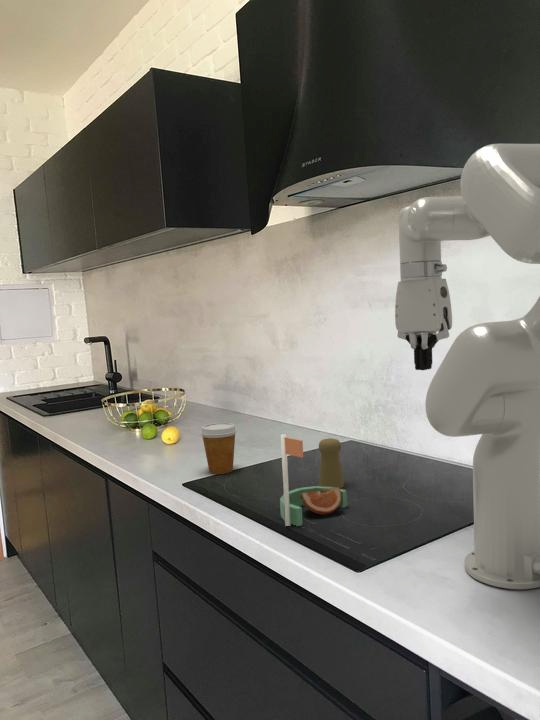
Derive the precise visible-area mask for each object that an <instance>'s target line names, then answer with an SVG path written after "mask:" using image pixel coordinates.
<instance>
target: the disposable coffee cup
mask: <svg viewBox="0 0 540 720" xmlns="http://www.w3.org/2000/svg"><path fill="white" fill-rule="evenodd" d="M237 432H238V429H237V428H236V426H235V424H234V423H231V422H215V423H209V424H205V425H203V426H201V430H200V435H201V437H202V441H203V445H204V451H205V456H206V461H207V467H208V471H209V473H210V474H212V475H225V474H228V473H231V472H233V471H234V461H235V460H234V459H235V445H236V443H235V442H236V434H237Z"/></svg>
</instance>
